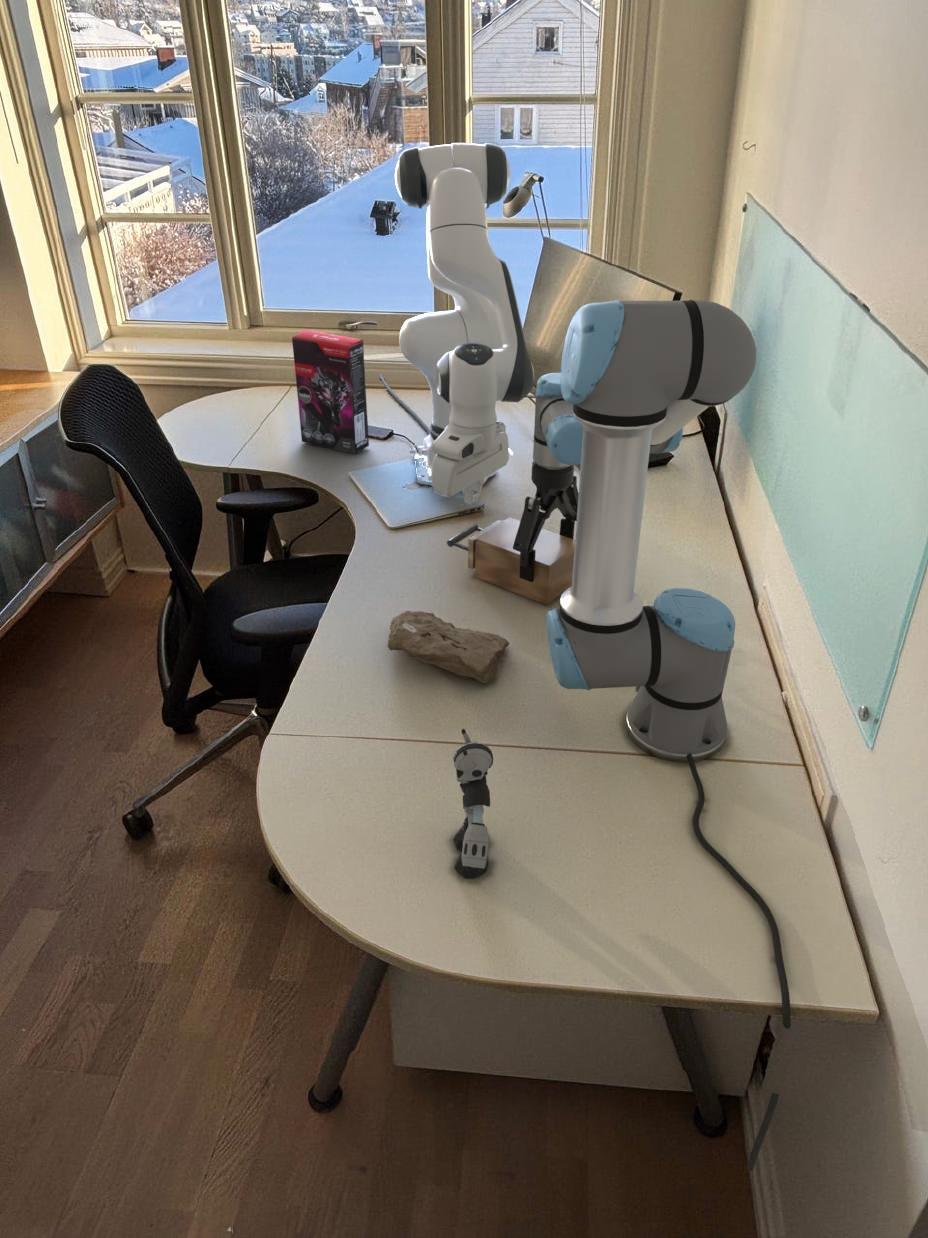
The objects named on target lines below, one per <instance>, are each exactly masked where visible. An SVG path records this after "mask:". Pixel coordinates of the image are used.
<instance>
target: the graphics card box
mask: <svg viewBox="0 0 928 1238" xmlns="http://www.w3.org/2000/svg"><path fill="white" fill-rule="evenodd" d="M291 343H292V352H293V361H294V372H295V373H294V374H295V383H296V392H297V405H298V415H299V424H300V436H301V442H302V443H306V444H310V445H314V446H318V447H324V448H327V449H332V450H336V451H339V452H344V453H349V454H353V455H355V454H358V453H359V452H361V451H363V450H365V449H366V448H367V447H369V446H370V440H369V423H368V421H369V420H368V405H367V404H368V403H367V389H366V370H365V349H364V348H365V347H364V340H363V338H355V337H350V336H344V335H338V334H334V333H327V332H322V331H318V330H317V331H316V330H311V329H304V330H301V331H299V332H297V333H295V335H293V336H292V337H291Z"/></svg>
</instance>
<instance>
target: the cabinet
mask: <svg viewBox="0 0 928 1238" xmlns="http://www.w3.org/2000/svg"><path fill="white" fill-rule="evenodd" d="M501 521H502V522H501V523H499V524H498V525H496V526H495V527H493V528H492V529H490V530H488V531H487V532H485V533H484V534H482V535H481V536H479V537H478V538H476V556H475V568H474V572H475V573H474V576H475V578H477V579H479V580H482V581H485V582H487V583H490V584H492V585H495V586H497V587H500V588H501V589H506V590H507V591H510V592H512V593H515V594H517V595H519V596H523V597H525V598H528V599H530V600H532V601H535V602H538V603H540V604H542V605H545V606H548V605H549V604H551V603H552V602H553V601H554V600H556V599H557V598H558V597H559V596H561V595H562V594H563V592H565V591H566V590H567V589H569V588H570V587H572V577H573V564H574V550H575V539H574V538H573V539H571V538H568V537H565V536H562V535H560V533H556V532H554V531H551V530H548V529H545V528H542V529H541V532H540V534H539V536H538V539H537V541H536V543H535V546H534V548H533V549H534V550H536V552H535V568H534V581H533V582H529V581H527V580H524V579H522V578H519V577H520V552H519V551H517V550H514V549H513V545H514V541H515V538H516V535H517V531H518V528H519V525H520V521H521V520H519V519H516V518H513V517H511V516H509V517H507V518H506V519H503V520H501Z"/></svg>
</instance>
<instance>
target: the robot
mask: <svg viewBox="0 0 928 1238" xmlns="http://www.w3.org/2000/svg"><path fill="white" fill-rule="evenodd" d="M461 734H462V737H463V739H464V742H465V744H463V745H461V746H460V747H459V748H458V749H457V750H456V751H455V753H454V756H453V757H452V760H453V768H455V772H456V774H455V775H456V781H457V782H458V783H459V786H460V789H461V791H462V793H463V794H462V809H464V812H465V814H466V817H465V818H464V821H463V823H462V826H461V827H460V829H459V830H458V831H457V833H456V834H455V835H454V837H453V838H452V841H453V843H454V846H455V847H456V849H457V850H459V851H460V853H459V855H458V858H457V859H456V863H455V865H454V870H455V871H456V872H457V873H458V874H459V875H460V876H461V877H464V878H468V879H472V878H477V877H479V876H481V875H483V874H486V873H487V872H488V867H489V863H490V862H489V848H490V834H489V831H488V826H486V824H485V823H484V818H483V817H484V816H483V815H484V813H485V812H484V810H485V809H484V806H485V807H487V808H491V792H490V788H489V785H488V784H487V775H488V771H489V769H491V768H492V766H493V764H494V755H493V751H492V750H491V749H490V747H488V746H487V745H486V744H484V743H482V742H479V741H476V740H475V741H472V740H471V738H470V736H469V735H468V733H467V730H466V729H465V728H462V729H461Z"/></svg>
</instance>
